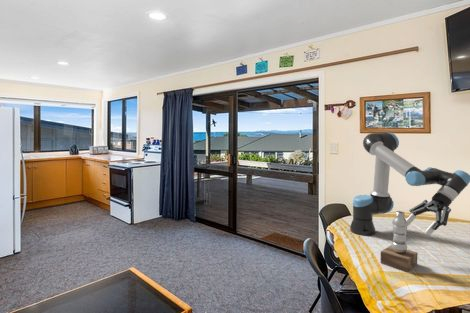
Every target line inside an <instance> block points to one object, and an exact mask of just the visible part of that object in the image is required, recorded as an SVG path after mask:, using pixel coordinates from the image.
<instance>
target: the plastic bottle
mask: <svg viewBox="0 0 470 313" xmlns="http://www.w3.org/2000/svg"><path fill="white" fill-rule="evenodd" d="M405 216H406V214H405V212H404V211H400V210H399V211H396V212H395V217H394V218H393V219H392V229H393V230H392V233H393V236H392V242H391V245H392V249H393V250H394V251H395V252H398V253H405V252H406V251H407V250H408V244H407V231H408V227H409V226H408V223H407V221H406V219H407V218H405Z"/></svg>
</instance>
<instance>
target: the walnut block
mask: <svg viewBox="0 0 470 313" xmlns="http://www.w3.org/2000/svg"><path fill="white" fill-rule="evenodd" d="M418 254H419V253H418V252H416V251H414V250H409V249H407V251H406V252H405V253H398V252H395V251H394V250H393V249H392V244H390V245H389V246H388V247H386V248H384V249H382V250H381V251H380V264H382V265H386V266H387V267H391V268H393V269H397V270H399V271H403V272H406V273H408V272H409V271H411V270H412V269H413V268H415V267H416V266H417V265H418Z"/></svg>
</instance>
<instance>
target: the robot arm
mask: <svg viewBox="0 0 470 313" xmlns="http://www.w3.org/2000/svg"><path fill="white" fill-rule="evenodd" d="M399 144H400V140H399V138H398V136H397V135H396V134H395V133H392V132H386V131H385V132H372V133H369V134H367V135H366V136H365V137H364V138H363V141H362V146H363V149H364V150H365V151H366V152H367V153H368V154H370V155H371V156H375V164H374V175H373V176H374V177H373V190H372V191H370V194H360V195H356V196H354V198H353V200H352V221H351V223H350V227H349V230H350V232H351V233H353V234H356V235H359V236H360V235H362V236H373V235H375V234H376V227H375V224H374V222H373V216H374V215H383V214H387V213H389V212H391V211H392V210H393V208H394V206H395V205H394V200H393V198H392V197H391V194H390V192H389V183H390V171H391V168H392V169H393V170H395V171H396V172H398V173H399V174H400V175H401V176H403V177H404V178H405V181H406V183H407V184H408V185H409V186H412V187H420V186H427V185H439V186H441V187H439V189H438V190H437V191H436V192H435V193H434V195H433V196H432V197H431V200H430V201H428V200H427V199H424V200H423V201H422V202H420V203H419V204H417V205H415V206H414V207H412V208H410V209H409V210H408V211H409V212H410V214H409V215H408V216H407V218H405V219H406V221H407V223H408V226H407V227H409V226H410V225H411V224H412V222H414V220H415V219H416V218H417V216H419V215H421V214H424V213H427V212H432V213H434V214H435V221H433V222H432V223H431V224H430V225H429V226H428V228H427V229H425V231H424V232H425V233H426V235H428V236H432V234H433V233H434V232H435V231H436V230H438V229H439V228H440V226H444V227H445V226H447V225H448V224H447V223H448V220H449V215H450V213H451V211H452V209H451V207H449V206H451V204H452V203H453V202H454V201H455V199H456V198H457V197H458V196H459V195H460V194H461V193H462V192H463V190H464V189H466V187H467V186H468V185H469V184H470V174H469V173H468V172H466V171H465V170H461V169H459V170H458V169H457V170H455V171H454V172H448V171H445V170H442V169H439V168H437V167H427V168H426V169H420V168H418V167H417V166H415V165H414V164H413V163H411V162H409V161H407V160H406V158H403V157H402V156H401V155H399V154H398V153H396V152H395V150H397V148H398V147H399Z"/></svg>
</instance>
